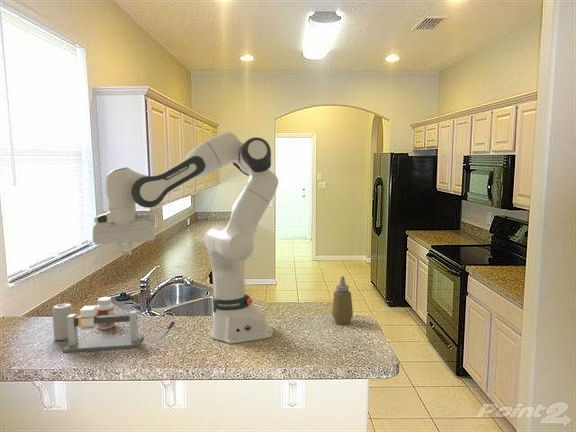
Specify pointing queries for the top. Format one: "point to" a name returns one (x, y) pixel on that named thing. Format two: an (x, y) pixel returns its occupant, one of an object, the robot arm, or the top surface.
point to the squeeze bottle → (342, 303)
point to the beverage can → (61, 320)
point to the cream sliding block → (88, 317)
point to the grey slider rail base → (103, 342)
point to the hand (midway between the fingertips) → (126, 255)
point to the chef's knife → (164, 332)
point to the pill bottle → (105, 311)
